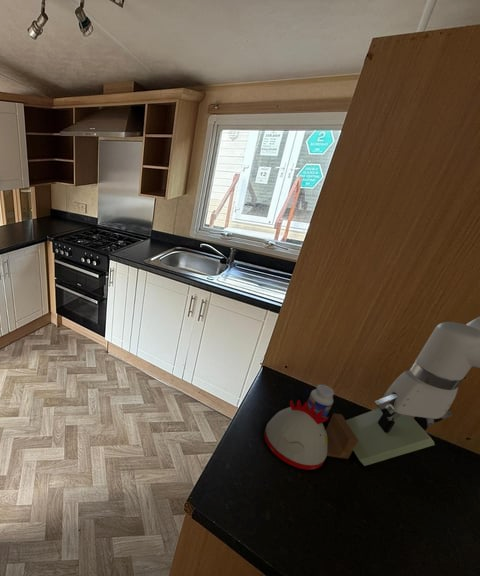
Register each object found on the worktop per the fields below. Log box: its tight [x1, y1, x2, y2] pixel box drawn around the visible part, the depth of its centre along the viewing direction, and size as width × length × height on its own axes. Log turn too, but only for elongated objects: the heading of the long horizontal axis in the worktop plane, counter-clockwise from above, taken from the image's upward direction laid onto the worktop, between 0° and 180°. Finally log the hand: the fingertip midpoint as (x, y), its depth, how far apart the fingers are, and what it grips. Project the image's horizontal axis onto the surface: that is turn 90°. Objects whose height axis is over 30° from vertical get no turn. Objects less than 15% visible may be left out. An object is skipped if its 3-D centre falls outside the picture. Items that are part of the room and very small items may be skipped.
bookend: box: [325, 413, 358, 460], centre depth 81 cm, size 5×8×7 cm, turn 170°
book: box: [345, 407, 436, 467], centre depth 78 cm, size 15×11×2 cm
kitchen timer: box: [263, 399, 330, 471], centre depth 79 cm, size 14×14×15 cm
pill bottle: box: [307, 384, 335, 418], centre depth 89 cm, size 5×5×10 cm
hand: (398, 429), depth 77 cm, fingers closed on book, 6 cm apart
